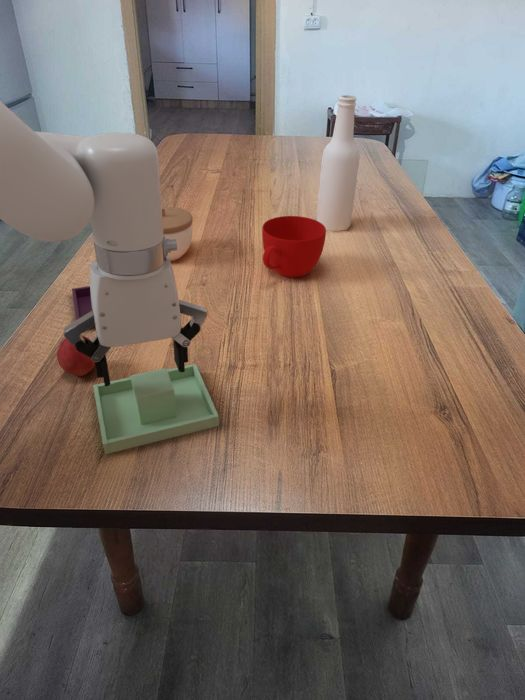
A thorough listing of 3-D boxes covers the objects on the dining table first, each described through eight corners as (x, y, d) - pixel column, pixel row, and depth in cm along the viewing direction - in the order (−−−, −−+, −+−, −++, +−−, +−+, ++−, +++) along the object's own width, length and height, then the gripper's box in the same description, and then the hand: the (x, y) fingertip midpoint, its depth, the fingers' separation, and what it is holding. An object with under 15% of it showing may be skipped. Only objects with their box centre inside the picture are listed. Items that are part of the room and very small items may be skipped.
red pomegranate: (54, 380, 75) (41, 337, 70) (79, 359, 79) (68, 317, 74) (86, 390, 73) (75, 347, 68) (109, 368, 78) (100, 326, 73)
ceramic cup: (238, 282, 101) (237, 236, 95) (282, 253, 113) (284, 211, 107) (291, 301, 96) (294, 254, 90) (332, 269, 107) (337, 225, 101)
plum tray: (79, 333, 85) (76, 321, 84) (74, 299, 94) (71, 288, 93) (166, 317, 90) (165, 307, 88) (153, 286, 99) (152, 276, 98)
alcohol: (326, 235, 122) (340, 101, 104) (309, 222, 128) (320, 94, 110) (356, 230, 125) (375, 99, 107) (338, 217, 131) (353, 92, 113)
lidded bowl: (200, 246, 114) (198, 200, 108) (186, 271, 104) (182, 221, 98) (148, 242, 116) (143, 195, 109) (129, 266, 106) (121, 216, 99)
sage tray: (105, 456, 63) (102, 444, 62) (95, 396, 72) (93, 384, 71) (219, 428, 68) (218, 416, 66) (196, 375, 77) (195, 363, 75)
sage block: (141, 425, 67) (136, 398, 64) (135, 401, 71) (130, 375, 68) (177, 416, 69) (174, 389, 66) (169, 394, 72) (166, 367, 69)
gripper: (197, 233, 61) (199, 346, 71) (47, 247, 55) (73, 368, 65) (214, 259, 55) (214, 377, 65) (49, 277, 50) (77, 404, 60)
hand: (143, 372), depth 65 cm, fingers open, 9 cm apart
